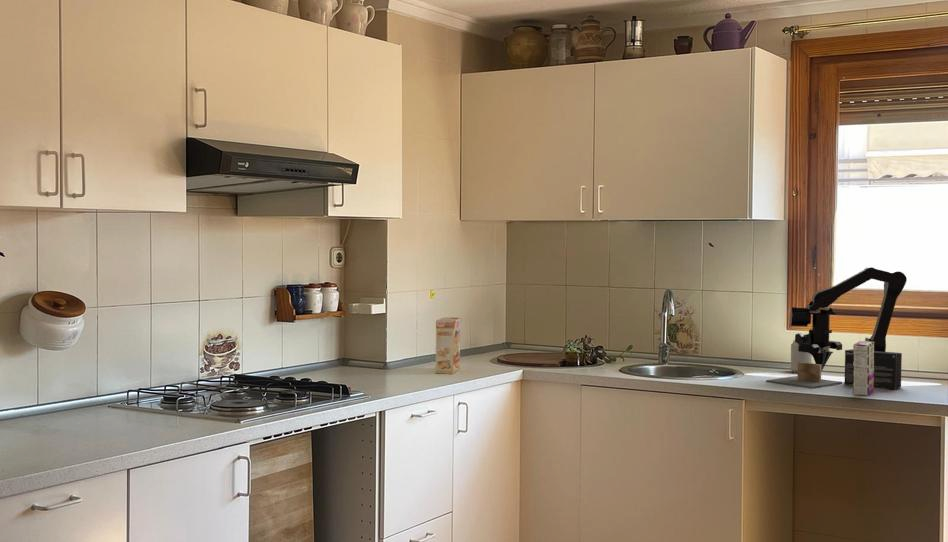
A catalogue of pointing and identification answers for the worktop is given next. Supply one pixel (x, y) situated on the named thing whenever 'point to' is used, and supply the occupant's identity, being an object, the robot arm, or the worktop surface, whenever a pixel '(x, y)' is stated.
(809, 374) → the tile
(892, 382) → the box
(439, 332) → the coffeecake box
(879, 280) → the robot arm
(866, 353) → the candy bar box
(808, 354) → the can
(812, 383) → the mat
